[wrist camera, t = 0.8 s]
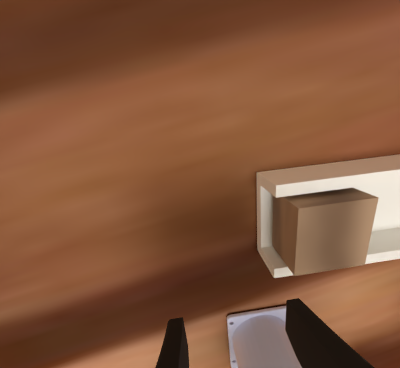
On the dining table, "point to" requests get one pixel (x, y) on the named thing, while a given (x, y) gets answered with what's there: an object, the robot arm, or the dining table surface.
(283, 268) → the chute
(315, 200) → the walnut block
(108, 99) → the dining table surface
